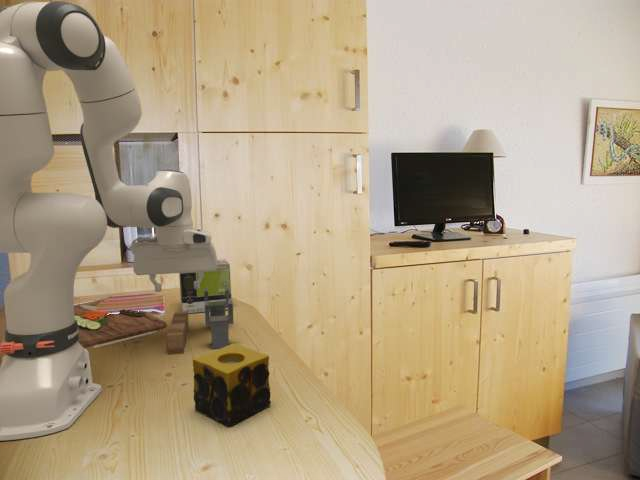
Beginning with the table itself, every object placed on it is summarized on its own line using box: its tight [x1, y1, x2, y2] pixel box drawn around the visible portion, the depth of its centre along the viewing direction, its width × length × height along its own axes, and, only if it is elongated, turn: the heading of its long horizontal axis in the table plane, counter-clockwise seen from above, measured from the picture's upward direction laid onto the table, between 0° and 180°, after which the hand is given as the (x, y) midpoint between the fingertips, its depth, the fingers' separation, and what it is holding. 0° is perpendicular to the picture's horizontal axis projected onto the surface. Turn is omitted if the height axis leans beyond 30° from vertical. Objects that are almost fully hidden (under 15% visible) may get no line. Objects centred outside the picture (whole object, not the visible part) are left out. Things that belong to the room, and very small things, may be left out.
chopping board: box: [74, 298, 168, 350], centre depth 140 cm, size 45×27×3 cm, turn 44°
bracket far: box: [204, 287, 230, 328], centre depth 133 cm, size 4×7×11 cm, turn 104°
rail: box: [166, 310, 190, 356], centre depth 124 cm, size 20×4×5 cm, turn 12°
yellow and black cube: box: [192, 342, 272, 428], centre depth 88 cm, size 10×10×10 cm
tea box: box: [178, 258, 232, 314], centre depth 152 cm, size 15×10×15 cm, turn 108°
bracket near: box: [204, 298, 234, 350], centre depth 119 cm, size 4×7×11 cm, turn 104°
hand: (177, 289), depth 123 cm, fingers open, 8 cm apart
